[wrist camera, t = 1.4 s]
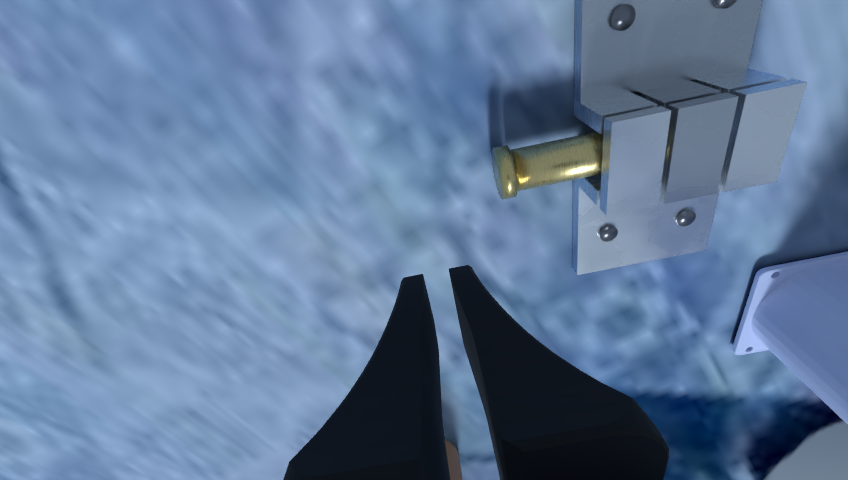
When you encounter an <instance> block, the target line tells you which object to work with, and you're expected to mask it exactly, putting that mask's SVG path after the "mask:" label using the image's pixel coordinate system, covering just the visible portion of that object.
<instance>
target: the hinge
mask: <svg viewBox="0 0 848 480" xmlns="http://www.w3.org/2000/svg"><path fill="white" fill-rule="evenodd" d="M761 5H762V0H575V50H574V116H575V117H577V118H578V119H580V120H581V121H582V122H584V123H585V124H587V125H588V126H589V127H591V128H592V129H594V130H595V131H597V132H598V133H599V134H603V153H602V172H601V174H599V175H594V176H589V177H584V178H579V179H574V180H573V237H572V268H573V269H574V271H575V272H576V274H577V275H580V274H585V273H590V272H595V271H600V270H606V269H611V268H616V267H621V266H626V265H631V264H636V263H641V262H647V261H652V260H657V259H662V258H667V257H672V256H677V255H682V254H688V253H693V252H698V251H703V250H706V248H707V244H708V239H709V235H710V230H711V226H712V222H713V217H714V213H715V208H716V204H717V199H718V195H719V191H720V190H721V191H722V192H727V191H732V190H737V189H742V188H747V187H752V186H757V185H762V184H767V183H772V182H777V178H778V175H779V172H780V169H781V165H782V162H783V159H784V156H785V152H786V149H787V146H788V142H789V139H790V136H791V133H792V129H793V126H794V123H795V120H796V116H797V113H798V110H799V107H800V103H801V100H802V97H803V93H804V90H805V87H806V84H807V82H804V81H800V80H795V79H789V80H786V77H782V76H778V75H774V74H770V73H765V72H761V71H757V70H752V69H748V68H747V67H748V62H749V58H750V54H751V49H752V45H753V40H754V36H755V31H756V27H757V23H758V18H759V14H760V9H761Z"/></svg>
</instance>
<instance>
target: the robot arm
mask: <svg viewBox="0 0 848 480" xmlns="http://www.w3.org/2000/svg"><path fill="white" fill-rule="evenodd" d="M449 273H450V278H451V283H452V288H453V293H454V298H455V304H456V309H457V314H458V319H459V324H460V328H461V333H462V338H463V343H464V347H465V350H466V353H467V356H468V359H469V362H470V366H471V369H472V372H473V375H474V378H475V381H476V384H477V387H478V391H479V394H480V397H481V400H482V403H483V406H484V410H485V414H486V417H487V421H488V426H489V430H490V435H491V439H492V444H493V448H494V453H495V457H496V462H497V466H498V471H499V476H500V480H663V479H664V475H665V471H666V467H667V463H668V459H669V448H668V446H667V444H666V443H665V441H664V439H663V437H662V435H661V433H660V432H659V430H658V429H657V428H656V426H655V425H654V423H653V422H652V421H651V420H650V418H649V417H648V416H647V414H646V413H645V412H644V411H643V410H642V408H641V407H640V406H639V405H638V404H637V402H636V401H635V400H634V399H633V398H631V397H629V396H627V395H625V394H623V393H621V392H619V391H617V390H615V389H613V388H611V387H609V386H607V385H605V384H603V383H601V382H599V381H597V380H596V379H594V378H592V377H591V376H589V375H587V374H586V373H584V372H582V371H580V370H579V369H577V368H576V367H574V366H573V365H571V364H570V363H568V362H567V361H565V360H564V359H562V358H561V357H559V356H558V355H556V354H555V353H553V352H552V351H551V350H549V349H548V348H547V347H545V346H544V345H543V344H542V343H540V342H539V341H538V340H536V339H535V338H534V337H533V336H532V335H530V334H529V333H528V332H527V331H526V330H525V329H523V328H522V327H521V326H520V325H519V324H518V323H517V322H516V321H515V320H514V319H513V318H512V317H511V316H510V315H509V314H508V313H507V312H506V311H505V310H504V309H503V308H502V307H501V306H500V305H499V304H498V302H497V301H496V300H495V299H494V298H493V297H492V296H491V294H490V293H489V292H488V291H487V290H486V288H485V287H484V286H483V284H482V283H481V282H480V280H479V279H478V277H477V276H476V274H475V273H474V271H473V269H472V267H470V266H469V265H466V266H460V267H455V268H450V269H449ZM765 350H770V351H771V352H772V353H773V354H775V355H776V356H777V357H778V358H779V359H780V360H781V361H782V362H783V363H784V364H785V365H786V366H787V367H788V368H789V369H790V370H791V371H792V372H793V373H794V374H795V375H796V376H798V377H799V378H800V379H801V380H802V381H803V382H804V383H805V384H806V385H807V386H808V387H809V388H810V389H811V390H812V391H813V392H814V393H815V394H816V395H817V396H818V397H819V398H821V399H822V400H823V401H824V402H825V403H826V404H827V405H828V406H829V407H830V408H831V409H832V410H833V411H834V412H835V413H836V414H837V415H838V416H839V417H840V418H841V419H842V420H844V421H845V422H846V423H847V424H848V252H843V253H837V254H832V255H827V256H822V257H817V258H811V259H806V260H801V261H796V262H791V263H785V264H780V265H775V266H770V267H765V268H762V269H760V270H759V271H758V272H757V273H756V275H755V278H754V281H753V284H752V287H751V291H750V294H749V297H748V300H747V303H746V306H745V309H744V313H743V316H742V319H741V322H740V325H739V328H738V331H737V334H736V338H735V341H734V344H733V347H732V351H733V352H734V353H735V354H736V355H743V354H749V353H754V352H759V351H765ZM283 480H451V479H450V473H449V466H448V459H447V452H446V445H445V438H444V431H443V421H442V408H441V387H440V366H439V349H438V342H437V336H436V330H435V324H434V319H433V314H432V310H431V306H430V302H429V298H428V294H427V289H426V285H425V281H424V277H423V274H420V275H415V276H410V277H405V278H403V280H402V281H401V285H400V289H399V293H398V296H397V299H396V302H395V305H394V308H393V311H392V313H391V316H390V318H389V321H388V323H387V326H386V328H385V330H384V332H383V335H382V337H381V339H380V341H379V343H378V345H377V347H376V349H375V351H374V353H373V355H372V357H371V359H370V360H369V362H368V364H367V365H366V367H365V369H364V371H363V372H362V374H361V375H360V377H359V378H358V380H357V381H356V383H355V384H354V386H353V387H352V389H351V391H350V392H349V393H348V395H347V396H346V398H345V399H344V400H343V402H342V403H341V404H340V405H339V407H338V408H337V409H336V410H335V412H334V413H333V414H332V415H331V417H330V418H329V419H328V420H327V422H326V423H325V424H324V425H323V427H322V428H321V429H320V430H319V431H318V432H317V434H316V435H315V436H314V437H313V438H312V439H311V440H310V441H309V442H308V443H307V444H306V445H305V446H304V447H303V448H302V449H301V450H300V451H299V453H298V454H297V455H296V456H295V457H294V458H293V459H292V460H291V461H290V462H289V465H288V468H287V471H286V474H285V477H284V479H283Z"/></svg>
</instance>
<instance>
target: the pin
mask: <svg viewBox="0 0 848 480" xmlns="http://www.w3.org/2000/svg"><path fill="white" fill-rule="evenodd" d="M602 153H603V134H599V133H598V132H594V133H589V134H584V135H579V136H574V137H570V138H565V139H560V140H555V141H550V142H545V143H541V144H536V145H531V146H526V147H521V148H517V149H512V150H510V149H509V147H508V146H507V145H505V146H500V147H495V148H493V150H492V165H493V172H494V178H495V182H496V186H497V190H498V193H499V195H500V197H501V199H507V198H512V197H516V195H517V191H520V190H525V189H530V188H535V187H540V186H545V185H550V184H555V183H560V182H565V181H570V180H574V179H579V178H584V177H589V176H594V175H599V174H601V172H602Z"/></svg>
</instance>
